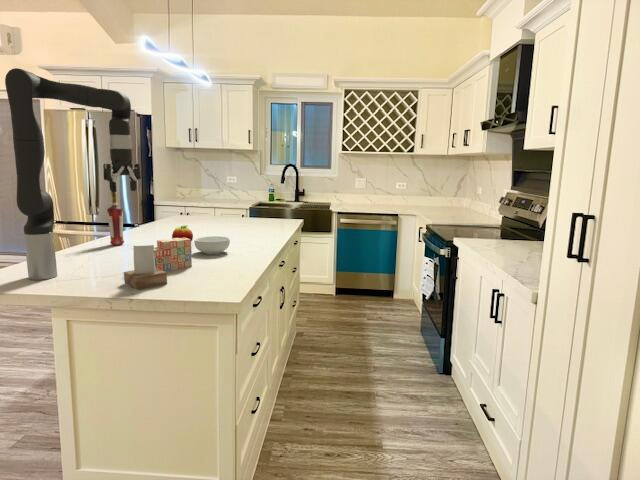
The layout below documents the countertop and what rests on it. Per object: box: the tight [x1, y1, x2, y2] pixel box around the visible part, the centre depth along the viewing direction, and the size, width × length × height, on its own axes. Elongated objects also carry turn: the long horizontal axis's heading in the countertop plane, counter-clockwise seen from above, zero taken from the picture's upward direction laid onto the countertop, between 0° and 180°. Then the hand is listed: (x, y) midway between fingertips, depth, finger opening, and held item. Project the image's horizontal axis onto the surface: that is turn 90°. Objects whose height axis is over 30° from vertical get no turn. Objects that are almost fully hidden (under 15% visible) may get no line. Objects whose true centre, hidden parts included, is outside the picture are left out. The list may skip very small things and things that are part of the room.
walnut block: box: [123, 268, 168, 291], centre depth 160 cm, size 11×11×5 cm
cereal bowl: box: [193, 235, 231, 255], centre depth 214 cm, size 17×17×7 cm
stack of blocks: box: [154, 237, 193, 272], centre depth 181 cm, size 21×6×12 cm, turn 130°
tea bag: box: [133, 244, 155, 274], centre depth 159 cm, size 4×7×10 cm, turn 108°
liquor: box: [106, 191, 125, 246], centre depth 227 cm, size 7×7×28 cm
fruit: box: [171, 225, 194, 242], centre depth 233 cm, size 11×11×10 cm
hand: (123, 191), depth 165 cm, fingers open, 8 cm apart
